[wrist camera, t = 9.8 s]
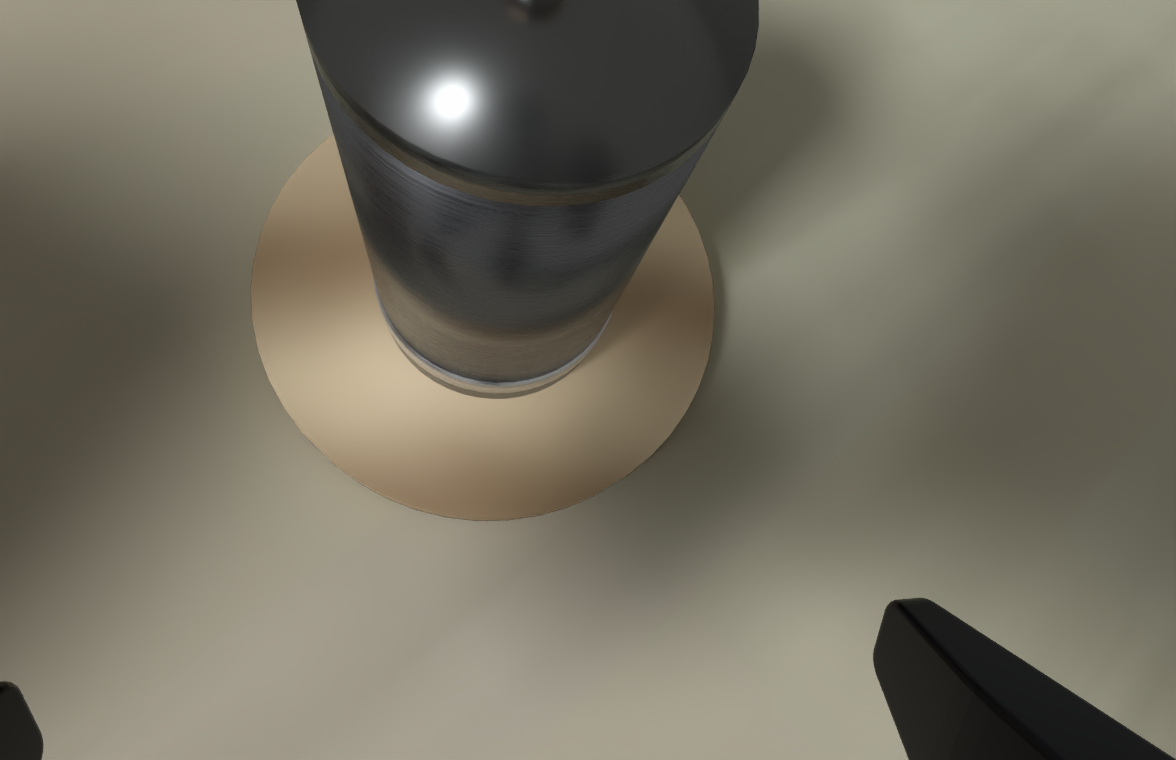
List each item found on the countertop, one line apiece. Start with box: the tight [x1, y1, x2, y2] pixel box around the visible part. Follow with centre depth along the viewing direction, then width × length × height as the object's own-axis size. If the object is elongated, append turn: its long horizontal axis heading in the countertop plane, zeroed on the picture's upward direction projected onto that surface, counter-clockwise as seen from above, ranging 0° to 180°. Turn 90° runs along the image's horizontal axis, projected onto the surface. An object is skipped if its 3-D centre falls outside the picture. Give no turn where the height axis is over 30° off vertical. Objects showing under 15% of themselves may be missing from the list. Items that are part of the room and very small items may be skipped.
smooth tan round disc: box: [251, 134, 715, 521], centre depth 20 cm, size 12×12×1 cm
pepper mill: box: [296, 0, 759, 399], centre depth 14 cm, size 8×6×12 cm
